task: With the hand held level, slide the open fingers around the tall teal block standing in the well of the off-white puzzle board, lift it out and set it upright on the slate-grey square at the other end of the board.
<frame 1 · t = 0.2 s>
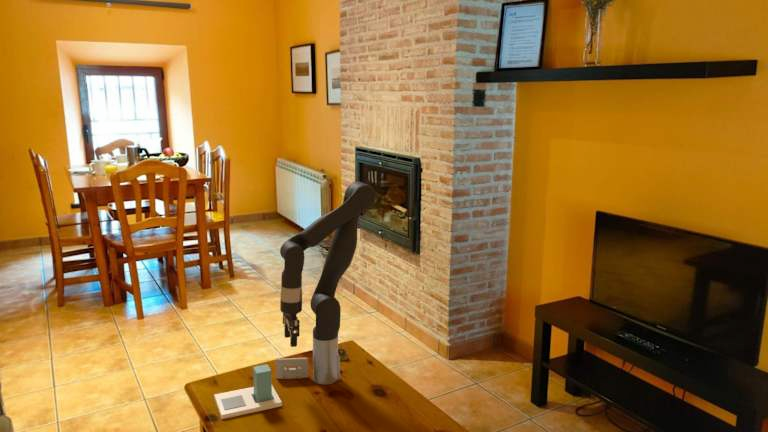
hand: (290, 341, 205), 17 cm above the table, tool pointing down, fingers open, 8 cm apart
cassette: (292, 378, 216), on the table
seal: (329, 357, 233), on the table
puzzle board: (247, 402, 198), on the table
teal block: (262, 400, 199), resting in puzzle board
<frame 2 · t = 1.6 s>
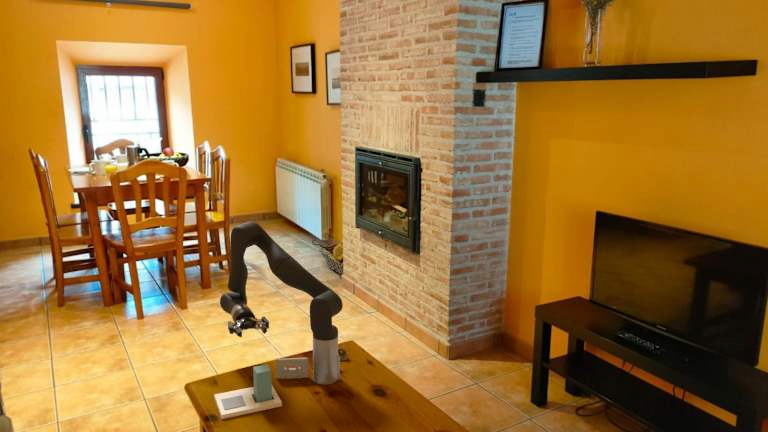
hand: (253, 332, 205), 20 cm above the table, tool horizontal, fingers open, 8 cm apart
nothing on the table moved.
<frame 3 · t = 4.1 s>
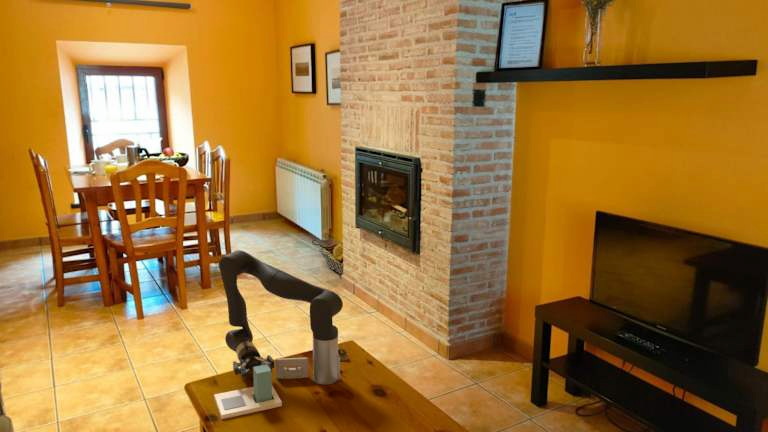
hand: (258, 373, 203), 7 cm above the table, tool horizontal, fingers open, 8 cm apart
nothing on the table moved.
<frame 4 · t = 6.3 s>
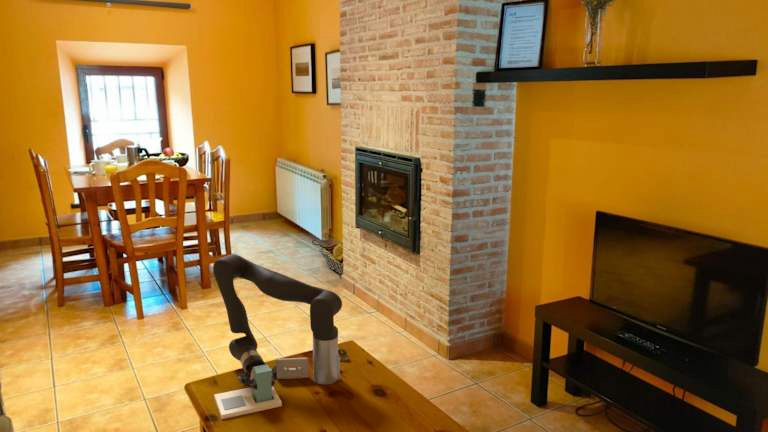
hand: (264, 385, 195), 7 cm above the table, tool horizontal, fingers closed on teal block, 5 cm apart
teal block: (263, 400, 199), resting in puzzle board, touching gripper
everything else where it was.
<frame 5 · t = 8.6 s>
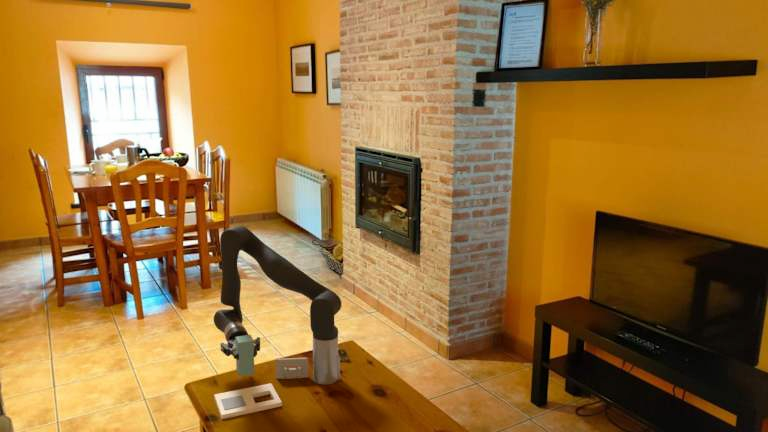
hand: (246, 355, 191), 19 cm above the table, tool horizontal, fingers closed on teal block, 5 cm apart
teal block: (245, 371, 195), point 12 cm above the table, touching gripper
everything else where it was.
when the fingers open (10 cm above the table, at t = 11.1 s): teal block drops 1 cm, resting on puzzle board.
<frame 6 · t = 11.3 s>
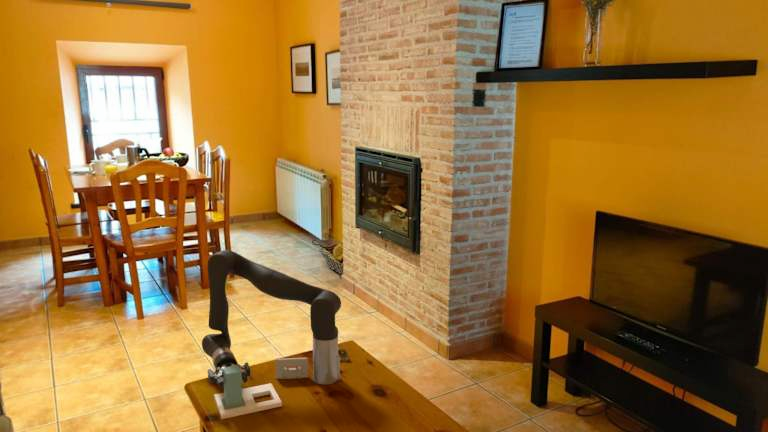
hand: (233, 382, 191), 10 cm above the table, tool horizontal, fingers open, 7 cm apart
teal block: (233, 402, 194), point 2 cm above the table, touching puzzle board
everything else where it was.
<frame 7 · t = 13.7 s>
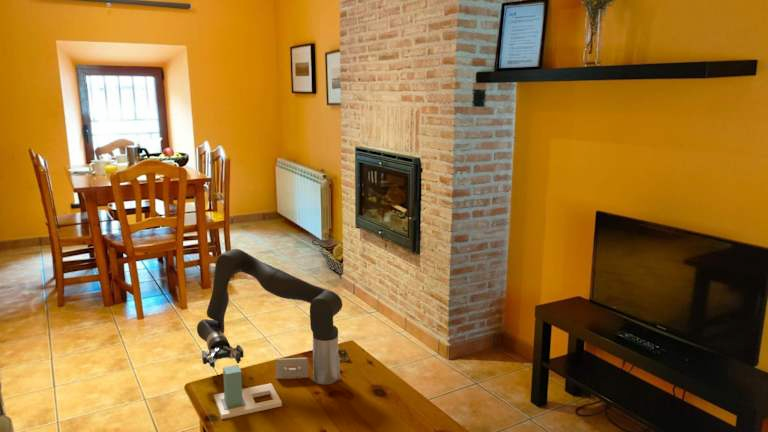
hand: (226, 362, 203), 10 cm above the table, tool horizontal, fingers open, 8 cm apart
nothing on the table moved.
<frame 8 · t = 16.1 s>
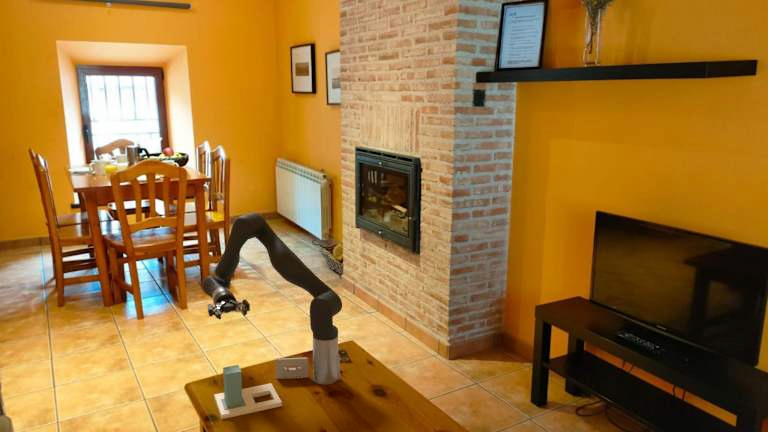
hand: (232, 314, 201), 28 cm above the table, tool horizontal, fingers open, 8 cm apart
nothing on the table moved.
at the end: teal block 0.0 cm from the target spot on the puzzle board, point 1.7 cm above the puzzle board's base; teal block tilted 0°; the gripper is holding nothing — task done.
